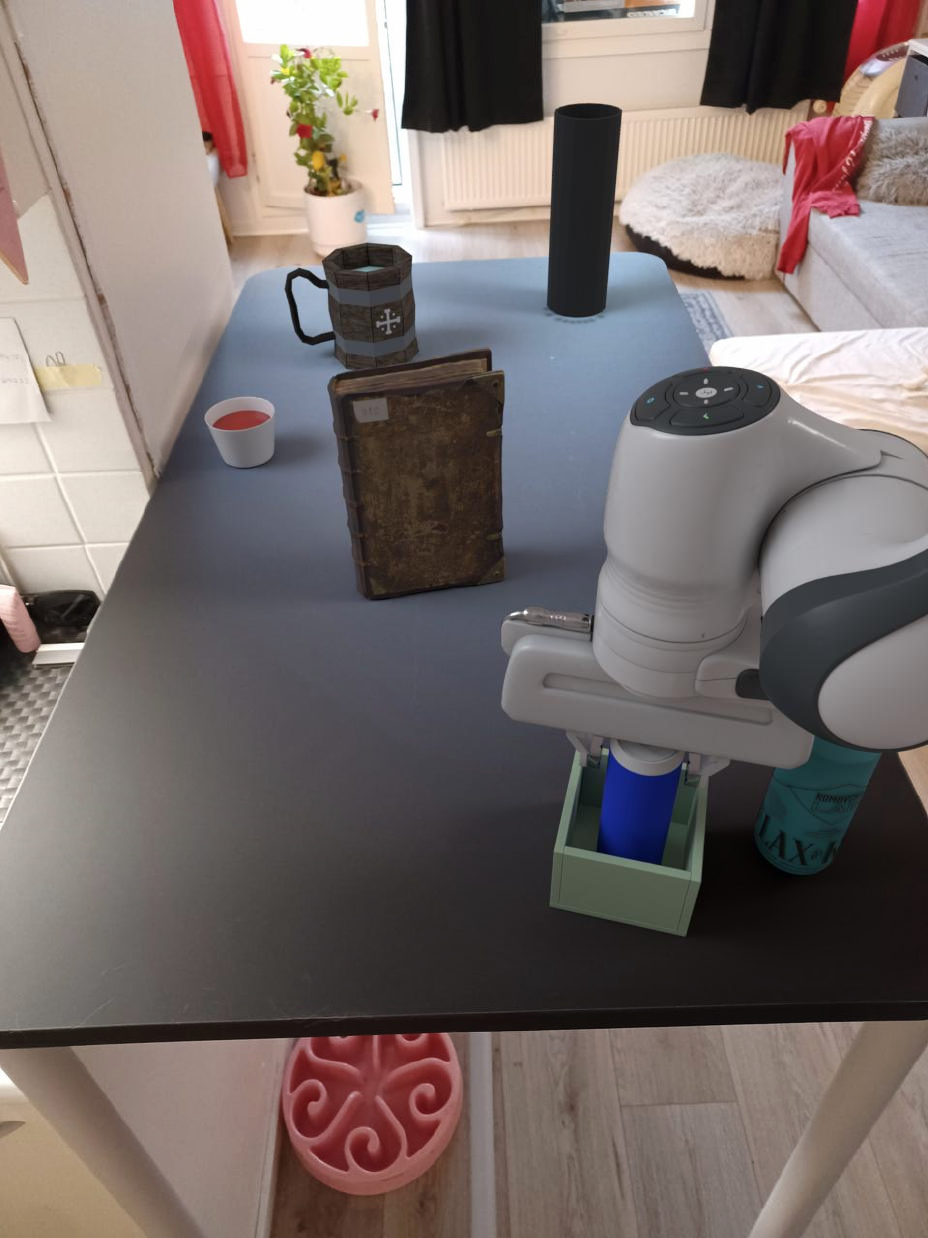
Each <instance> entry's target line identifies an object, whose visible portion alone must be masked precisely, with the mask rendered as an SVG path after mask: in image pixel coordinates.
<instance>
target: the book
mask: <svg viewBox="0 0 928 1238" xmlns="http://www.w3.org/2000/svg"><path fill="white" fill-rule="evenodd" d="M505 375H506V374H505V371H504V370H503V368H500V369H495V370H493V354H492V349H491V348H490V347H489V346H486V347H479V348H470V349H465V350H464V351H459V352H453V353H449V354H444V355H439V356H434V357H429V358H424V359H423V358H422V359H418V360H414V361H410V362H408V363H402V364H396V365H390V366H384V367H378V368H364V369H358V370H352V369H351V370H348V371H343V372H340V373H337V374H336V375H333V376H332V377H330V379H329V382H328V383H327V392H328V397H329V401H330V406H331V407H330V408H331V412H332V413H331V414H332V418H333V421H332V429H333V433H334V435H335V439H336V447H337V453H338V454H337V464H338V467H339V469H340V475H341V480H342V481H341V482H342V497H343V499H344V501H345V507H346V514H347V518H346V519H347V520H346V525H347V528H348V531H349V535H350V541H351V557H352V559H353V562H354V569H355V570H354V571H355V588H356V591H357V592H358V594H359V595H360V596H362V597H363V598H365V599H368V598H369V599H372V600H378V599H379V600H380V599H387V598H397V597H400V596H403V595H407V594H414V593H420V592H425V591H426V592H427V591H432V590H438V589H445V588H446V589H447V588H452V587H460V586H461V587H462V586H474V585H477V586H478V585H484V584H490V583H495V582H501V581H503V580H505V579H506V577H507V564H506V557H505V555H506V554H505V549H504V538H503V530H504V520H503V519H504V517H503V503H504V502H503V501H504V498H503V468H502V467H503V440H504V439H503V438H504V436H503V424H504V410H505V401H506V376H505Z"/></svg>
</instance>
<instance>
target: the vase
mask: <svg viewBox="0 0 928 1238" xmlns="http://www.w3.org/2000/svg"><path fill="white" fill-rule="evenodd" d="M622 118H623V109H622V108H620V107H619V106H616V105H612V104H609V103H608V104H607V103H599V102H598V103H597V102H583V103H582V102H578V103H571V104H565V105H562V106H558V107H557V108H555V109H554V112H553V132H552V133H553V135H552V157H551V159H552V161H551V162H552V163H551V189H550V210H549V211H550V212H549V213H550V214H549V218H550V219H549V239H548V266H547V287H546V288H547V290H546V306H547V308H548V309H549V310H550V311H551V312H553V313H554V314H556V315H560V316H562V317H569V318H586V317H591V316H595V315H597V314H601V313H602V312H603V311H604V310H605V309H606V307H607V298H608V297H607V296H608V285H609V284H608V283H609V272H610V262H611V250H612V249H611V248H612V239H613V238H612V237H613V225H614V214H615V202H616V201H615V200H616V189H617V177H618V165H619V154H620V153H619V152H620V142H621V129H622Z"/></svg>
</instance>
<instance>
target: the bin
mask: <svg viewBox="0 0 928 1238" xmlns="http://www.w3.org/2000/svg"><path fill="white" fill-rule="evenodd" d="M608 754H609V748H605V747H603V751H602V757H601V761H600V768H599V769H595V768H590V767H583V766H579V760H580V752H578V751H577V749H576V748H575V753H574V756H573V762H572V766H571V770H570V771H571V772H570V775H569V780H568V785H567V789H566V793H565V797H564V803H563V807H562V812H561V817H560V822H559V825H558V831H557V835H556V840H555V844H554V849H553V858H552V872H551V884H550V898H549V907H550V908H554V909H559V910H563V911H568V912H572V913H577V914H581V915H586V916H591V917H594V918H598V919H604V920H608V921H612V922H617V923H622V924H627V925H629V926H630V925H631V926H635V927H640V928H645V929H649V930H653V931H657V932H663V933H665V934H671V935H675V936H680V937H684V938H686V937H687V933H688V929H689V926H690V923H691V919H692V915H693V913H694V912H693V911H694V908H695V904H696V901H697V898H698V894H699V890H700V887H701V884H702V876H703V875H702V874H703V861H704V846H705V833H706V821H707V820H706V819H707V808H708V795H709V782H710V781H709V780H710V779H709V778H710V776H709V777H708V781H707V785H706V788H705V789H701V788H696V787H691V786H686V785H684V780H685V770H686V765H687V762H683V764H682V769H681V774H680V778H679V783H678V788H677V792H676V797H675V802H674V807H673V811H672V816H671V821H670V825H669V830H668V835H667V839H666V844H665V849H664V853H663V858H662V863H661V866H660V865H655V864H650V863H645V862H640V861H636V860H631V859H626V858H621V857H616V856H612V855H607V854H602V853H597V852H596V849H597V841H598V834H599V826H600V818H601V810H602V802H603V794H604V786H605V778H606V770H607V762H608Z"/></svg>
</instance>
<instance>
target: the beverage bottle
mask: <svg viewBox="0 0 928 1238" xmlns="http://www.w3.org/2000/svg"><path fill="white" fill-rule="evenodd" d="M882 755H883V753H870V752H862V751H857V750H853V749H848V748H844V747H841V746H838V745H835V744H832V743H830V742H827V741H825V740H823V739H820V738H818V737H816V736H814V742H813V746H812V750H811V754H810V757H809V759H808V761H807V762H806V763H805V764H803V765H801V766H798V767H796V768H794V769H781V768H776V767H774V770H772V771H771V774H770V778H769V780H768V786H767V788H766V792H765V793H764V795H763V798H762V800H761V803H760V806H759V809H758V812H757V815H756V817H755V822H754V824H755V825H754V826H753V830H752V831H753V832H754V836H753V837H754V840H755V843H756V846H757V848H758V850H759V852H760V853H761V855H762V856H763V857H764V858H765V860H767V861H768V863H770V864H771V865H773V866H774V867H775V868H777V869H779V870H781V871H784V872H786V873H789V874H793V875H798V876H807V875H808V876H809V875H813V874H817V873H819V872H821V871H823V870H825V869H827V868H828V867H830V865H832V864H833V863H834V861H835V859H836V857H837V855H838V854H839V852H840V850H841V847H842V846H843V844H844V842H845V840H846V837H847V835H848V833H849V831H848V829H849V826H850V823H851V821H852V820H853V817H854V816H855V814H856V812H857V811H856V810H858V809H857V808H859V805H860V804H861V803H862V802H863V801H864V799H862V798H863V797H864V794H865V792H866V789H867V788H869V787H870V786H871V784H870V782H871V781H872V779H871V777H872V775H873V773H874V770H875V769H876V767H877V764H878V763H879V760H880V758H881V756H882ZM867 791H868V789H867ZM861 800H862V801H861ZM846 832H847V833H846Z"/></svg>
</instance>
